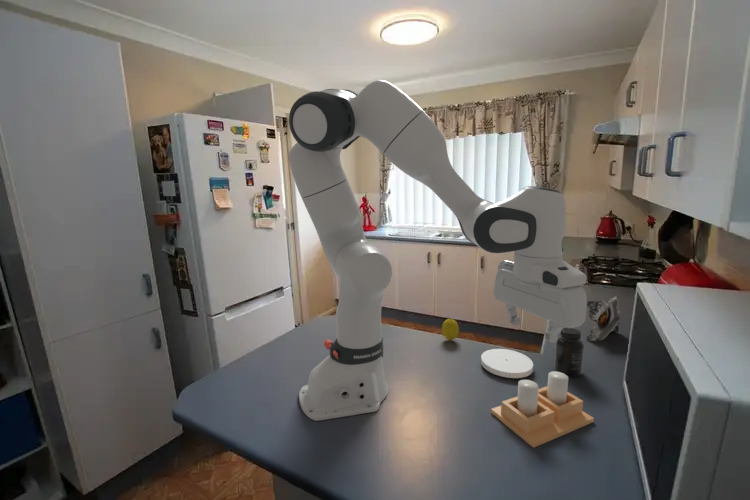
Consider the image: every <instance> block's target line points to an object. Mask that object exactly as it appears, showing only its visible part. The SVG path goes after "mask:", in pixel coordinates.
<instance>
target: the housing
mask: <svg viewBox="0 0 750 500" xmlns="http://www.w3.org/2000/svg"><path fill="white" fill-rule="evenodd" d="M547 375H548V376H547V385H546V386H543V387H540V388H538V405H537V415H534V416H532V417H529V418H528V417H527V416H525V415H524V414H523V413H521V412H520V411H518V410H517V401H518V395H517V396H514V397H511V398H509V399H506V400H502V401H501V405H499V406H495V407H492V408H491V409H490V413H491V414H492V415H493V416H494V417H496V418H497V419H498V420H499V421H500V422H502V423H503V424H504V425H505V426H506V427H508V428H509V429H510V430H511V431H512V432H514V433H515V434H516V435H517V436H518V437H520V438H521V439H522V440H523V441H524V442H526V443H527V444H528V445H530V446H531V447H532V448H533V449H534V448H536V447H539V446H542V445H543V444H545V443H548V442H551V441H553V440H555V439H557V438H560V437H563V436H564V435H567V434H569V433H571V432H573V431H576V430H578V429H581V428H583V427H585V426H587V425H590V424H592V423H594V421H595V420H594V419H595V418H594V417H593V416H591V415H589V414H588V413H586V412H585V411H583V407H584V405H583V404H584V400H583V399H580V398H579V397H577V396H576V395H574V394H572V393H571V392H569V391H568V387H569V386H568V385H569V376H567V375H565V374H564V373H561V372H557V371H556V370H554V371H550V372H548V374H547Z"/></svg>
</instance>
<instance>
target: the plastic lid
mask: <svg viewBox="0 0 750 500" xmlns="http://www.w3.org/2000/svg"><path fill="white" fill-rule="evenodd" d="M480 364H481V366H482V367H483V368H484V370H486V371H487V372H489V373H491V374H493V375H496V376H498V377H503V378H507V379H523V378H526V377H528V376H531V375H532V374H533V372H534V362H533V361H532V359H531V358H530V357H529V356H528V355H525V354H524V353H521V352H518V351H516V350H512V349H508V348H492V349H488V350H485V351H483V352H482V353H481V355H480Z"/></svg>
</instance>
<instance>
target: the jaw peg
mask: <svg viewBox="0 0 750 500" xmlns="http://www.w3.org/2000/svg"><path fill="white" fill-rule="evenodd" d="M517 383H518V385H517V396H518V401H517V410H518V411H520V412H521V413H523V414H524V415H525V416H527V417H528V418H529V417H532V416H534V415H537V405H538V389H539V384H538V383H537V382H535V381H533V380H530V379H520V380H518V382H517Z"/></svg>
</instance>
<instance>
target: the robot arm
mask: <svg viewBox="0 0 750 500" xmlns="http://www.w3.org/2000/svg"><path fill="white" fill-rule="evenodd" d="M288 125H289V130H290V133H291V134H292V136H293V139H294V140H295V141H296V143H295V144H294V145H293V146H292V147H291V149H290V151H289V153H288V163H289V167H290V169H291V173H292V176H293V177H292V178H293V180H294V182H295V183H294V184H295V185H296V188H297V190H298V192H299V196H300V197H301V200H302V202H303V204H304V207H305V208H306V210H307V213H308V215H309V217H310V219H311V221H312V224H313V226H314V229H315V230H316V234H317V236H318V238H319V242H320V244H321V246H322V249H323V252H324V254H325V255H324V256H325V257H326V259H327V263H328V265H329V267H330V269H331V270H332V272H333V274H335V276H337V277H338V279H339V280H338V281H339V296H338V304H337V307H336V310H335V319H336V321H335V322H336V325H335V326H336V338H335V340H334V342H332V340H331V339H329V338H328V339H325V340H324V342H323V346H324V347H325V348H326V350H328V351H329V355H327V356H326V357H325V358H324V359H323V360H322V361H321V362H319V363H318V364H317V365H316V366H315V367H314V368H313V369H312V370H311V371H310V373H309V375H308V381H307V384H306V385H305V384H304V385H303V386H302V387H301V389H300V390H299V395H298V400H299V405H300V407H301V410H302V411H303V413H304V414H305V415H306V417H308V418H309V419H311V420H313V421H315V422H317V421H318V422H319V421H324V420H331V419H332V420H333V419H337V418H344V417H350V416H356V415H360V414H361V415H362V414H366V413H374V412H377V411H378V410H379V409H380V407H381V404H382V402H383V401H384V399H385V398H387V396H388V394H389V386H388V384H387V380H386V377H385V371H384V364H383V358H384V338H383V337H382V306H383V301H384V296H385V292H386V288H387V287H388V286H389V284H390V282H391V280H392V277H393V267H392V264H391V262H390V261H389V259H388V257H387V256H386V255H385V253H384V252H383V251H382V250H381V249H379V248H378V247H376V246H374V245H372V244H370V242H369V241H368V239H367V238H366V235H365V232H364V228H363V224H362V219H361V209H360V207H359V203H358V202H357V199H356V197H355V195H354V192H353V190H352V188H351V185H350V182H349V180H348V178H347V175H346V173H345V171H344V169H343V165H342V161H341V152H342V150H346V149H347V148H348V147H350V146H351V145H352V144H353V143H354V142H355V141H357V140H358V139H359V138H360V137H362V138H364V139H366V140H367V141H369V142H370V143H372V144H373V145H374V147H375V148H376V149H378V151H380V152H381V154H382V155H383V156H384V157H386V159H387V160H388V161H389V162H391V163H392V164H393V166H395V167H396V168H398V169H399V170H400V171H402V172H403V173H404V174H406V175H408V176H409V177H410V178H412V179H414V180H416V181H418V182H419V183H422V184H423V185H425V186H426V187H428V188H429V190H431V191H432V192H434V194H435V195H437V197H438V198H439V199H440V200H441V201H442V202H443V203H444V204H445V205H446V207H447V208H448V209H450V211H452V213H453V214H454V216H455V217H456V218H457V222H458V224H459V226H460V230H461V232H462V235H464V237H465V239H467V241H469V242H470V243H472V244H474V245H476V246H477V247H479V248H480V249H481V250H483V251H485V252H487V253H490V254H502V253H511V252H514V254H513V261H511V260H508V259H505V260H504V259H503V261H500V263H499V264H497V271H496V274H495V280H494V285H493V293H492V294H493V296H494V299H496V300H497V301H500V302H502V303H505V309H506V312H507V314H508V317H509V318H508V323H509V324H510V325H513V326H520V324H521V316H519V315H518V312H517V309H520V310H522V311H525V312H528V313H530V314H531V315H534V316H537V317H539V318H542V319H544V320H547V321H550V326H551V327H552V329H550V331H545V332H544V333H545V334H544V335H545V336H544V340H545V341H547V342H549V343H552V344H553V343H554V344H555V343H556V342H557V339H558V338H559V334H560V333H561V330H562V329H563V328H574V329H575V328H577V327H580V326H582V325H583V324H584V323H585V322H586V317H587V307H588V306H587V300H588V299H587V293H586V290H585V289H584V288H583V285H585V284H586V283H587V275H586V274H585V273H584V272H583V271H581V270H579V269H578V268H576V267H574V266H573V265H572V264H569V263H568V262H566V260H563V256H564V255H563V254H564V252H563V249H562V243H563V242H562V241H563V239H564V237H565V232H566V221H567V219H566V218H567V214H566V213H567V212H566V210H567V209H566V208H567V207H566V200H565V196H564V195H563V193H561V191H559V190H557V189H553V188H549V187H545V186H543V187H542V186H535V185H532V186H531V185H527V186H523V188H521V190H519V191H518V192H516V193H514V194H512V195H510V196H509V197H506V198H504V199H501V200H499V201H496V202H491V201H489V200H487V199H485V198H482V197H480V196H479V195H477V194H476V193H475V192H474V190H473V189H472V188H471V187H470V186H469V185H468V184H467V183H466V182H465V180H464V179H463V178H462V177H461V176H460V175H459V174H458V172H456V171H455V169H454V167H453V165H452V164H451V161H450V158H449V155H448V149H447V141H446V138H445V137H444V135H443V134H442V132H441V130H440V128H439V127H438V126H437V125H436V123H435V122H434V121H433V119H432V118H431V117H430V116H429V115H428V114H427V113H426V112H425V111H424V110H423V108H421V106H420V105H418V103H416V102H415V101H414V100H413V99H412V97H409V96H408V95H407V94H406V93H405V92H403V91H402V90H401V89H400V88H398V87H397V86H395V85H394V84H392V83H391V82H389V81H387V80H384V79H378V80H374V81H372V82H370V83H369V84H367V85H366V86H365V87H363V88H362V90H361V91H360V92H359V93H358V94H357V92H354V91H352V90H349V89H339V88H326V89H323V90H319V91H317V90H316V91H310V92H308V93H305V94H303V95H302V96H301V97H298V99H297V100H295V102H294V103H293V104H292V106H291V107H290V111H289V115H288Z"/></svg>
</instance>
